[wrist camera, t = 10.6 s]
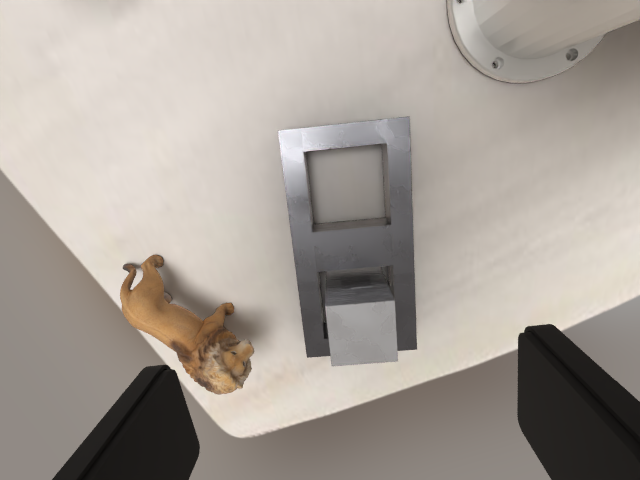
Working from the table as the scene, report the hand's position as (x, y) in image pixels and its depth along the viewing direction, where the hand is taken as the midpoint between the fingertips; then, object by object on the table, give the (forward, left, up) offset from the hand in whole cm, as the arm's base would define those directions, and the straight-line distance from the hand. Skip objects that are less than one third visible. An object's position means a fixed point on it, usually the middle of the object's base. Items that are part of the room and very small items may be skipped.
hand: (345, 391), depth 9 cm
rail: (-1, +2, -23) cm, 23 cm away
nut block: (-1, +7, -23) cm, 24 cm away
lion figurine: (+14, +7, -23) cm, 28 cm away
